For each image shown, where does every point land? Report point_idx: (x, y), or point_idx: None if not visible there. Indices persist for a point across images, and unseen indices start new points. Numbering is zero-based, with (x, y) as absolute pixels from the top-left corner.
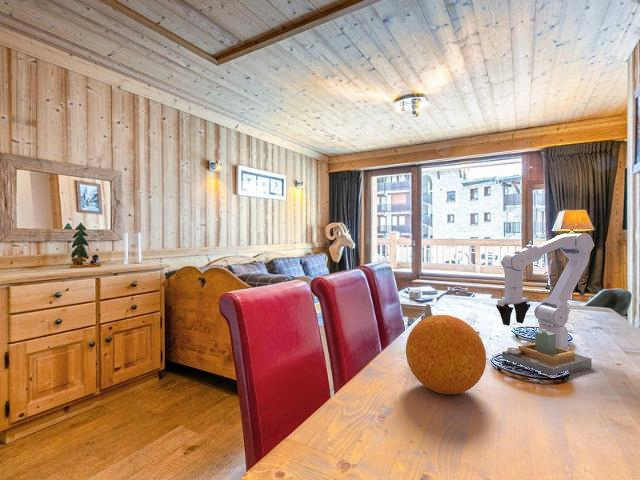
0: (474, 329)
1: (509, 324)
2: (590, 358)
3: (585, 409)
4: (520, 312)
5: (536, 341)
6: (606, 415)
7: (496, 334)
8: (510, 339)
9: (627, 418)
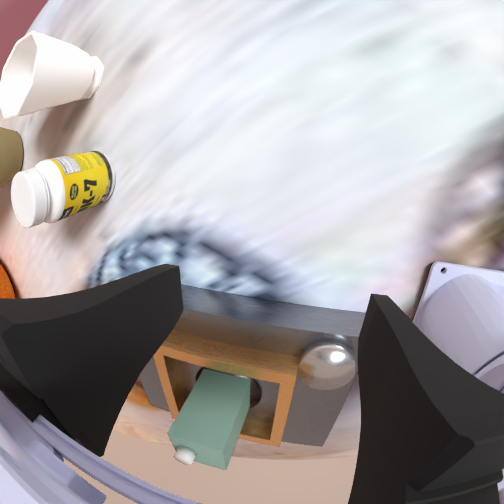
0: (26, 196)
1: (177, 317)
2: (319, 445)
3: (123, 413)
4: (377, 410)
5: (185, 405)
6: (134, 426)
7: (471, 40)
8: (463, 126)
9: (151, 439)
